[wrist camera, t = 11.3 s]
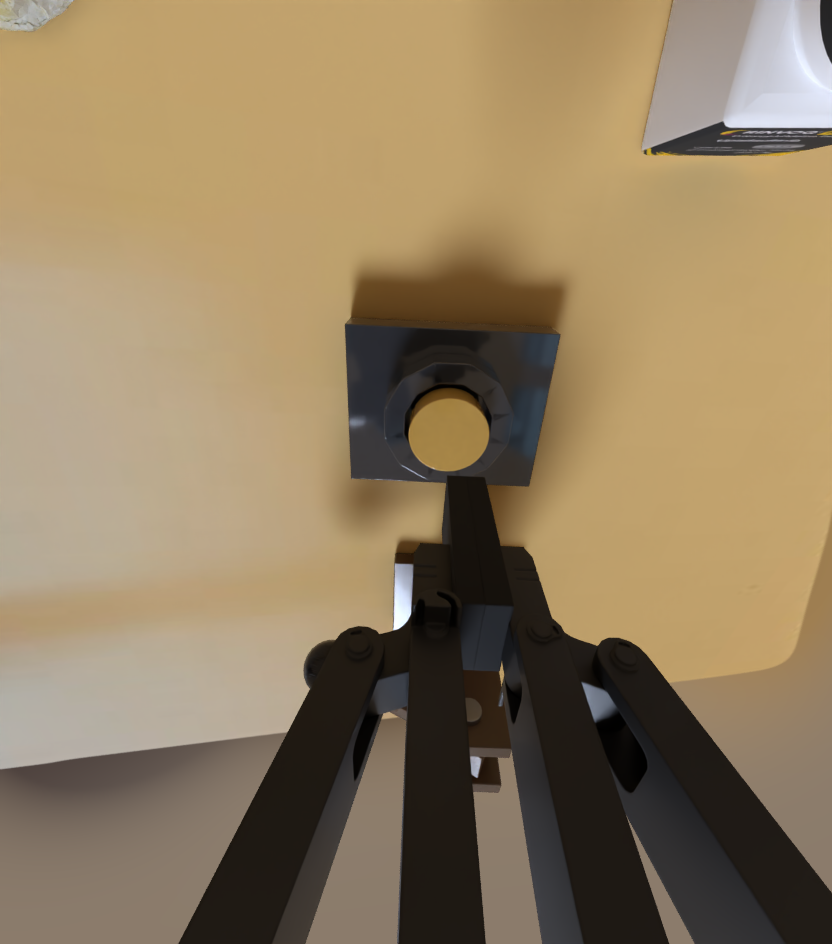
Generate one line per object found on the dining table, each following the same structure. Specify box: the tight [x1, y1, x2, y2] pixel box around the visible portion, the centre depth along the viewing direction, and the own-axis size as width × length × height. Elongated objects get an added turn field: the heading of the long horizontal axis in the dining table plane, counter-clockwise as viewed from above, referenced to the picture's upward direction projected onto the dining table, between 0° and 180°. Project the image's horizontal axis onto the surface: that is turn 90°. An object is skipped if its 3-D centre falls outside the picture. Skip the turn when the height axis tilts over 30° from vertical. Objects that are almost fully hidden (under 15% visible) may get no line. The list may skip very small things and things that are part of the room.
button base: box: [345, 318, 560, 486], centre depth 26 cm, size 12×10×4 cm
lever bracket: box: [393, 553, 512, 793], centre depth 30 cm, size 10×8×14 cm
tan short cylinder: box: [409, 388, 489, 471], centre depth 24 cm, size 4×4×2 cm
